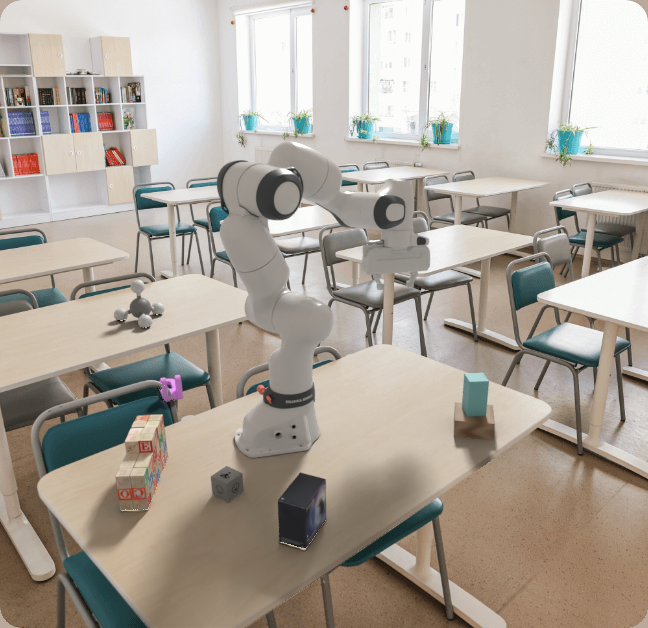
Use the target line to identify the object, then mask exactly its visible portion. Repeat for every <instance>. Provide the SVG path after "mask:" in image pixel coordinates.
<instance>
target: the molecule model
mask: <svg viewBox="0 0 648 628" xmlns="http://www.w3.org/2000/svg"><path fill="white" fill-rule="evenodd" d="M145 287H146V286H145V283H144V281H143V280H141V279H134V280H132V282H131V283H130V290H131V291H132V292H133V293H135V295H136V298H134V299H132V301H131V302H130V304H129V309H128V310H127V309H125V308H124V307H123V308H122V307H120V308H116V309H115V311H114V313H113V317H114V319H115V320H116V321H117V320H124V319H126V320H127V319H128V317H129V315H130V314H131V316H132V317H134V318H137V323H138V326H139V327H140V328H141V327H149V326H150V327H151V326H152V325H153V318H152V316H150V313H152V314H153V315H154V314H161V315H163V314H164V312H165V305H164V304H163V303H162V302H160V301H159V302H158V301H157V302H154V303H153V304H152V305H151V302H150V301H149V300H148V299H147V298H145V297H142V293H143V291H144V290H145ZM162 313H163V314H162ZM150 327H149V328H150Z"/></svg>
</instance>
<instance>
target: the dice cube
mask: <svg viewBox="0 0 648 628" xmlns="http://www.w3.org/2000/svg"><path fill="white" fill-rule="evenodd" d="M243 474H244V473H243V472H241V471H239V470H237V469H235V468H233V467H230V466H228V465H225V466H224V467H222V468H221V469H219V470H218V471H217V472H215V473H213V474H212V475H211V476H210V484H211V494H212V496H213V495H214V498H218V499H219V498H220V500H221V499H222V500H221V501H223V500H224V502H225V501H226V503H227V502H228V503H227V504H229V503H231V502H232V501H233V500H235V499H236V498H237V497H239V496H240V495H242V494H243V493H244V492H245V488H244V477H243ZM234 498H235V499H234ZM231 500H232V501H231ZM230 501H231V502H230Z"/></svg>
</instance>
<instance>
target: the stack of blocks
mask: <svg viewBox="0 0 648 628" xmlns="http://www.w3.org/2000/svg"><path fill="white" fill-rule="evenodd" d="M164 422H165V421H164V415H163V414H142V415H137V416H136V418H135V419H134V421H133V423H132V424H131V428H130V429H129V431H128V433H127V436H126V438H125V440H124V447H125V453H126V454H125V456H124V458H123V460H122V461H121V463H120V465H119V468H118V470H117V473H116V475H115V483H116V493H117V498H118V504H119V511H120V510H125V509H126V510H133V509H134V510H135V509H136V510H137V509H138V510H143V509H144V510H145V509H148V507H149V504H150V502H151V500H152V498H153V499H154V497H153V495H154V496H155V494H156V492H155V490H156V491H157V489H156V487H157V488H158V485H157V483H158V481H159V482H160V480H159V478H160V479H161V477H162V474H163V472H162V471H164V470H163V469H165V467H166V464H167V462H166V461H168V459H167V458H169V452H168V445H167V437H166V435H167V434H166V428H165V423H164ZM165 463H166V464H165ZM164 466H165V467H164ZM161 473H162V474H161ZM160 476H161V477H160ZM158 484H159V483H158ZM154 493H155V494H154ZM152 501H153V500H152ZM151 503H152V502H151ZM150 505H151V504H150ZM149 508H150V507H149Z"/></svg>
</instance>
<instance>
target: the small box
mask: <svg viewBox="0 0 648 628" xmlns="http://www.w3.org/2000/svg"><path fill="white" fill-rule="evenodd" d="M276 501H277V523H278V524H277V525H278V543H279V542H284V543H287V544H291V545H294V546H297V547H301V548H306V547H307V546H308V545H309V543H310V542H311V541H312V539H313V538H314V536H315V535H316V533H317V532H318V530H319V529H320V528H322V527H323V526H322V524H323V523H324V522H325V523H326V521H327V479H326V478H323V477H320V476H315V475H312V474H308V473H304V472H299V473H298V475H297V476H296V477H295V478H294V479H293V480H292V482H291V483H290V484H289V485H288V487H287V488H286V489H285V491H283V492H282V494H281V495H280V497H279V498H278V499H277V500H276ZM325 520H326V521H325ZM325 523H324V524H325ZM324 524H323V525H324ZM321 526H322V527H321ZM320 530H321V529H320ZM320 530H319V531H320ZM318 533H319V532H318ZM318 533H317V534H318ZM316 536H317V535H316ZM316 536H315V537H316ZM314 539H315V538H314ZM314 539H313V540H314ZM312 542H313V541H312ZM312 542H311V543H312ZM309 546H310V545H309Z"/></svg>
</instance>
